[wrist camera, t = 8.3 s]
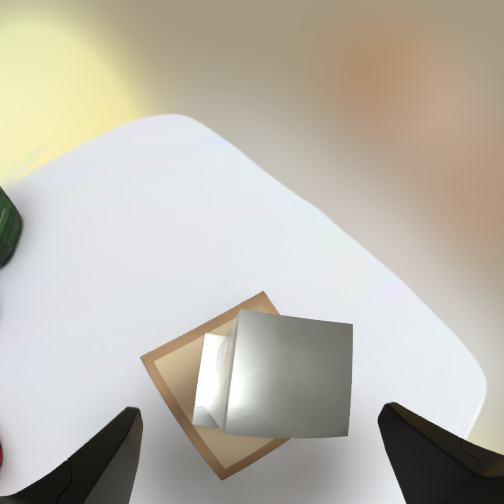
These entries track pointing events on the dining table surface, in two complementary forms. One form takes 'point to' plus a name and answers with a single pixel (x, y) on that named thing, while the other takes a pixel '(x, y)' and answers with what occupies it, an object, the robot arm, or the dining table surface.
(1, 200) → the coffee jar
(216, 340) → the steel housing
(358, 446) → the dining table surface
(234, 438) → the light tan tray
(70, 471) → the robot arm
